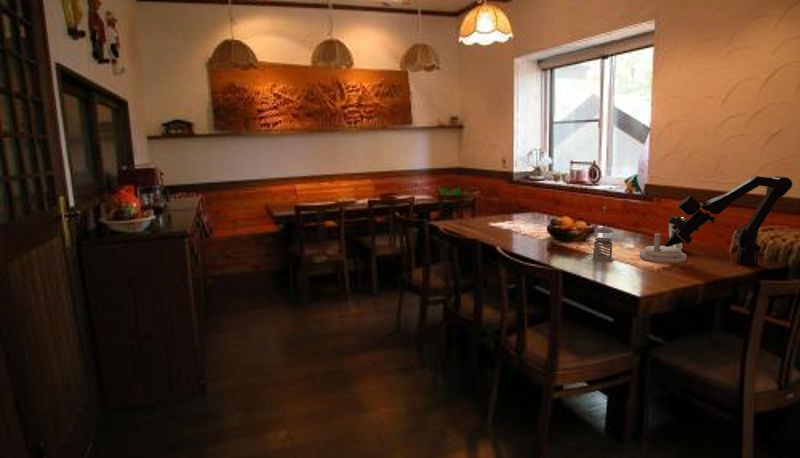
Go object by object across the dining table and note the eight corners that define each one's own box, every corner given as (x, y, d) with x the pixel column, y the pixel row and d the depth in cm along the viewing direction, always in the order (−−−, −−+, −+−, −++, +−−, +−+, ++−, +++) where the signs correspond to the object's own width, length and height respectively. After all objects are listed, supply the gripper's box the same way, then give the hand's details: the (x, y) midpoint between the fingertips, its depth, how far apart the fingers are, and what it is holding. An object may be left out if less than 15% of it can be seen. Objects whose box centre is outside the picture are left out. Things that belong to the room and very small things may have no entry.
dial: (653, 248, 235) (654, 228, 233) (687, 253, 223) (688, 231, 221) (638, 253, 226) (639, 232, 224) (672, 259, 214) (673, 236, 212)
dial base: (630, 254, 232) (631, 250, 232) (667, 252, 235) (667, 247, 235) (657, 264, 214) (657, 259, 214) (696, 261, 217) (696, 256, 216)
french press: (616, 262, 220) (618, 207, 215) (589, 262, 222) (590, 208, 218) (611, 257, 229) (613, 204, 225) (585, 257, 232) (587, 205, 227)
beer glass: (686, 249, 239) (688, 219, 236) (671, 249, 239) (673, 219, 236) (678, 246, 246) (680, 216, 243) (664, 246, 246) (666, 217, 243)
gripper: (677, 206, 222) (649, 229, 228) (684, 212, 205) (654, 237, 211) (696, 223, 221) (667, 246, 227) (705, 231, 204) (673, 256, 210)
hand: (665, 246), depth 218 cm, fingers closed
